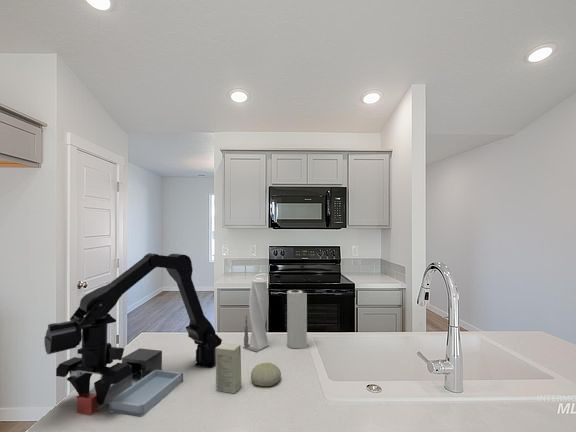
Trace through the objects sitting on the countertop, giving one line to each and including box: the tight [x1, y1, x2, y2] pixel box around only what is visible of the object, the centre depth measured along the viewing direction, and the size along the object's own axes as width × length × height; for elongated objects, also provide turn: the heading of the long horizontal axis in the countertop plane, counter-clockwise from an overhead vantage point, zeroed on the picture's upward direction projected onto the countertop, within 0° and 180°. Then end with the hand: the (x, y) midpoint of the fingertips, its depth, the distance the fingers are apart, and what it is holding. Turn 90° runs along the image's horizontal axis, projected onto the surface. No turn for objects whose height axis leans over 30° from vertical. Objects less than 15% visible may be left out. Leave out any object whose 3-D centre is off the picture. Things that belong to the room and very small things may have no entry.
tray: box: [108, 369, 184, 417], centre depth 90 cm, size 10×19×2 cm, turn 166°
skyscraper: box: [242, 273, 270, 353], centre depth 126 cm, size 8×8×28 cm
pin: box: [76, 373, 133, 416], centre depth 89 cm, size 4×15×4 cm, turn 166°
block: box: [121, 347, 163, 380], centre depth 102 cm, size 8×8×6 cm
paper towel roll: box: [286, 289, 308, 349], centre depth 126 cm, size 7×6×21 cm
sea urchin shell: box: [250, 362, 282, 387], centre depth 98 cm, size 9×8×8 cm
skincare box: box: [215, 342, 242, 394], centre depth 94 cm, size 6×4×12 cm
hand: (93, 403), depth 84 cm, fingers closed on pin, 4 cm apart
